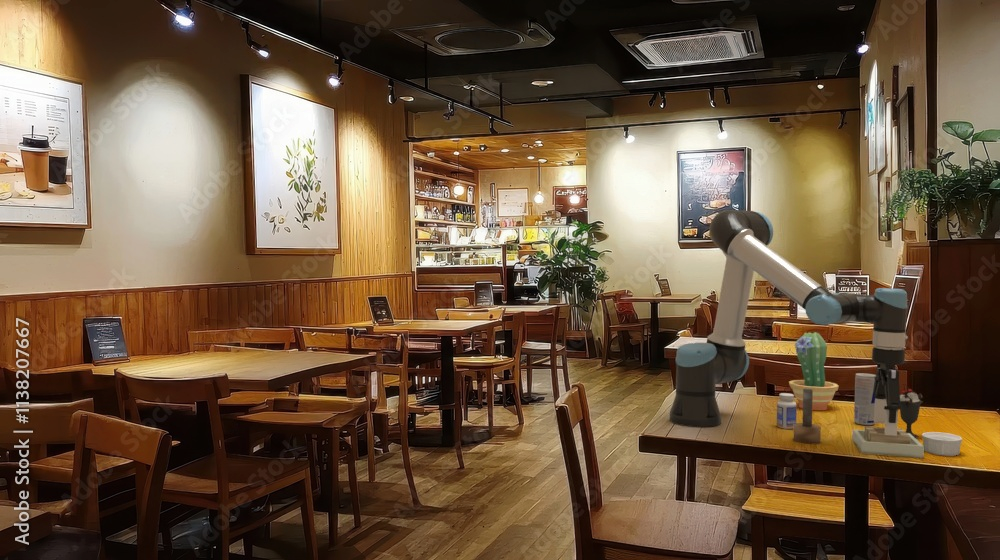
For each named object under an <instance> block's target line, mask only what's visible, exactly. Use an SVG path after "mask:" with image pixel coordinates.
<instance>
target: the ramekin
mask: <svg viewBox="0 0 1000 560" xmlns="http://www.w3.org/2000/svg"><path fill="white" fill-rule="evenodd" d="M921 437H922V441H923V442H922V443H923V444H922V445H923V446H924V452H926V453H929V454H931V455H935V456H943V457H957V456H959V455H960V452H961V445H962V444H961V443H962V442H963V438H962V437H961V436H960V435H957V434H953V433H948V432H939V431H929V432H928V431H927V432H923V433H922V434H921ZM956 455H957V456H956Z"/></svg>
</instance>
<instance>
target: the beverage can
mask: <svg viewBox="0 0 1000 560" xmlns="http://www.w3.org/2000/svg"><path fill="white" fill-rule="evenodd" d="M875 379H876V374H873V373H863V372H862V373H860V372H859V373H858V372H857V373H855V379H854V410H853V411H854V414H853V415H854V419H853V422H854V423H856V424H857V425H860V426H874V425H875V424H876V423H874V410H875V399H877V398H875V394H874V393H873V391H874V385H875Z"/></svg>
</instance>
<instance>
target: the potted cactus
mask: <svg viewBox="0 0 1000 560" xmlns="http://www.w3.org/2000/svg"><path fill="white" fill-rule="evenodd" d="M794 346H795V347H794V348H795V354H796V355H797V356H796V357H797V359H798V362H799V364H800V367H801V371H802V376H803V379H794V380H793V379H792V380H790V381H788V383H789V387H790V388H791V389H792V392H793V395H794V398H795V399H796V400H797V402H798V408H801V409H803V389H812V390H813V400H812V411H826V410H828V406H829V404H830V403H831V401H832V400H833V398H834V396H835V393H836V392H837V391H838V390H839V386H840V385H838V383H835V382H832V381H826V374H825V364H826V359H827V353H828V345H827V342H826V341H825V340H824V338H823V337H822V335H821V334H820V332H816V331H815V332H813V333H812V332H808V333H807V332H804V334H803V335H802V336H801V337H799V339H796V342H795V343H794Z"/></svg>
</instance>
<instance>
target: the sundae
mask: <svg viewBox="0 0 1000 560" xmlns="http://www.w3.org/2000/svg"><path fill="white" fill-rule="evenodd" d="M902 385H903V387H904V388H903V390H902V391H901V393H900V406H901V409H899V413H900V418H901V420H902V421H903V422H904V423H905V424H906V430H905V432H906V433H910V434H911V435H912V436H913V437H914V438H916V439H918V438H920V437H919V435H917V434H915V433H913V430H912V425H913V424H914V423H916V422H917V421H918V418H919V413H920V408H921V405H922V403H923V400H922V399H923V395H922V393H919V394H917V392H915V391H914V390H912V388H910V387H908V386H907V385H906V383H902ZM906 388H907V390H905V389H906Z"/></svg>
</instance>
